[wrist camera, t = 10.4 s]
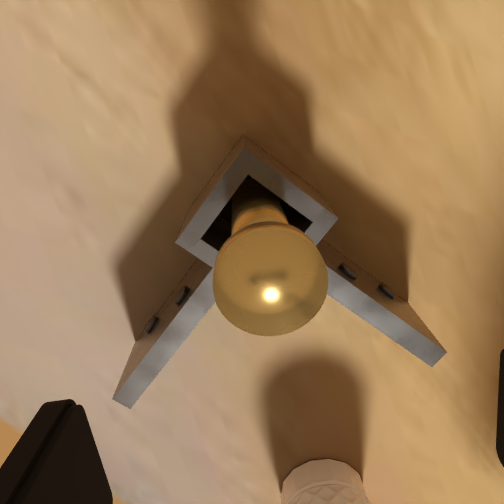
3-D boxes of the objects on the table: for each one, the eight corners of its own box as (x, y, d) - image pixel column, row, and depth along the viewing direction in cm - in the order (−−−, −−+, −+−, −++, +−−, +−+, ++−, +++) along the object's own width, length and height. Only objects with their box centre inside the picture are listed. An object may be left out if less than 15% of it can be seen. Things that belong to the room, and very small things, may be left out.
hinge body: (431, 278, 30) (477, 322, 24) (286, 430, 34) (296, 499, 28) (242, 134, 26) (244, 147, 20) (106, 325, 30) (76, 379, 25)
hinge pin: (299, 194, 27) (352, 272, 15) (260, 243, 28) (280, 355, 16) (247, 155, 26) (259, 205, 14) (209, 207, 27) (189, 297, 15)
